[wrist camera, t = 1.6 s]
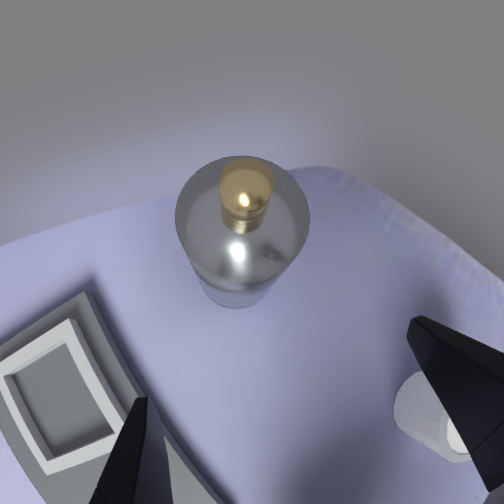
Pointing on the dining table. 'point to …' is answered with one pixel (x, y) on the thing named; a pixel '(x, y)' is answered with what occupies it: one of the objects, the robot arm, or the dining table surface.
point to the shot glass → (428, 419)
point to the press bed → (76, 406)
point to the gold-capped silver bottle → (241, 227)
